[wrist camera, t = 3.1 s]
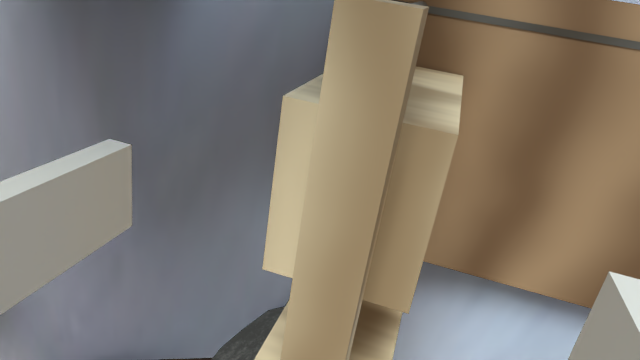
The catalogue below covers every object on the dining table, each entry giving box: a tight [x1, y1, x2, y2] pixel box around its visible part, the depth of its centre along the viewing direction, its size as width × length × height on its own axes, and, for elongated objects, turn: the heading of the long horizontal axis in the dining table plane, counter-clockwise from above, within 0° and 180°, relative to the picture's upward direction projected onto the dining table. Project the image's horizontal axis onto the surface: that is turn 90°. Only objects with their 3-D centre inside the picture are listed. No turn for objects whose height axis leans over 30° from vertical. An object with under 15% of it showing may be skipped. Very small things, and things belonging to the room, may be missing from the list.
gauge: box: [254, 0, 463, 360], centre depth 19 cm, size 5×14×13 cm, turn 170°
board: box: [392, 0, 640, 309], centre depth 23 cm, size 20×14×2 cm
